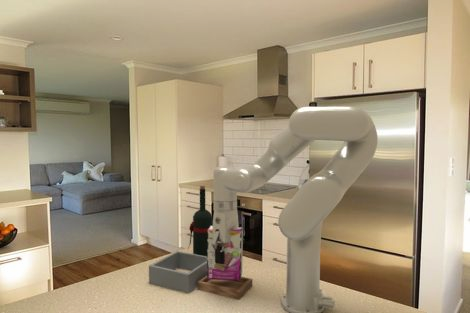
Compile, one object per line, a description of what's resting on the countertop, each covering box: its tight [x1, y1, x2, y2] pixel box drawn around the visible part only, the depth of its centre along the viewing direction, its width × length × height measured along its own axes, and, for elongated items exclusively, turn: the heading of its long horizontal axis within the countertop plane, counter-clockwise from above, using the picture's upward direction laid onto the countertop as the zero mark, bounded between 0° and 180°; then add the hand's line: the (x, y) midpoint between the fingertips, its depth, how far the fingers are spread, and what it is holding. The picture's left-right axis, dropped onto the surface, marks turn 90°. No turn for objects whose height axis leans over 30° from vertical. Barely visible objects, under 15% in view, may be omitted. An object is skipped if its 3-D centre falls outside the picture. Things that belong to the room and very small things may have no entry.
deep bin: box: [148, 250, 207, 294], centre depth 116 cm, size 16×16×6 cm
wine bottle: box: [186, 185, 213, 256], centre depth 131 cm, size 8×10×30 cm
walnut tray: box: [196, 275, 253, 301], centre depth 110 cm, size 15×10×2 cm, turn 64°
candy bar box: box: [207, 225, 244, 281], centre depth 109 cm, size 11×5×16 cm, turn 84°
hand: (225, 259), depth 109 cm, fingers closed on candy bar box, 6 cm apart
